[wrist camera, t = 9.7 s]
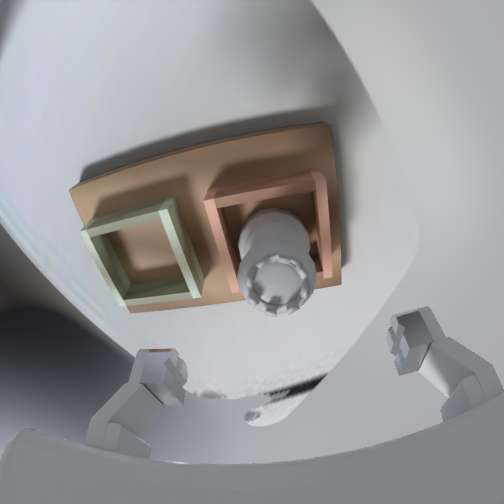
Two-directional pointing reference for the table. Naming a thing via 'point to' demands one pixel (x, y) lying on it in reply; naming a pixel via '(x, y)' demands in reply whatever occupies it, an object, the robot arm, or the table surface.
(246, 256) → the rook chess piece
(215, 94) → the table surface
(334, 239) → the board
